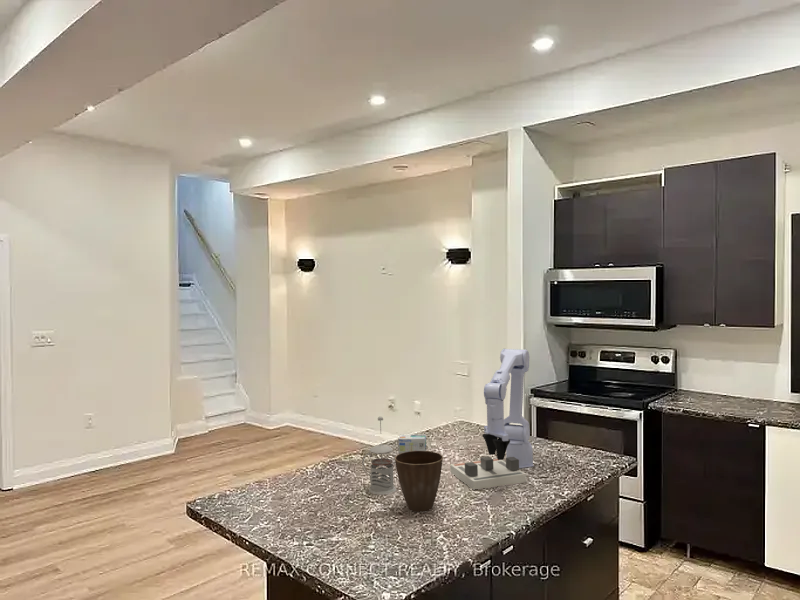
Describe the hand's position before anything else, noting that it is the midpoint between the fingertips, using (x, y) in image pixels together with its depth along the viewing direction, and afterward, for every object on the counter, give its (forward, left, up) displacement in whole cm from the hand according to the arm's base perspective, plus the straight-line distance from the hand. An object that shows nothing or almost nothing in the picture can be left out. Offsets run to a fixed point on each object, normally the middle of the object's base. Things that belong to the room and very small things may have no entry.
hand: (496, 456), depth 205 cm
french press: (+39, -11, -10) cm, 42 cm away
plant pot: (+32, +10, -10) cm, 35 cm away
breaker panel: (0, -8, -9) cm, 12 cm away
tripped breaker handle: (0, -7, -6) cm, 10 cm away
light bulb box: (+19, -34, -10) cm, 40 cm away
